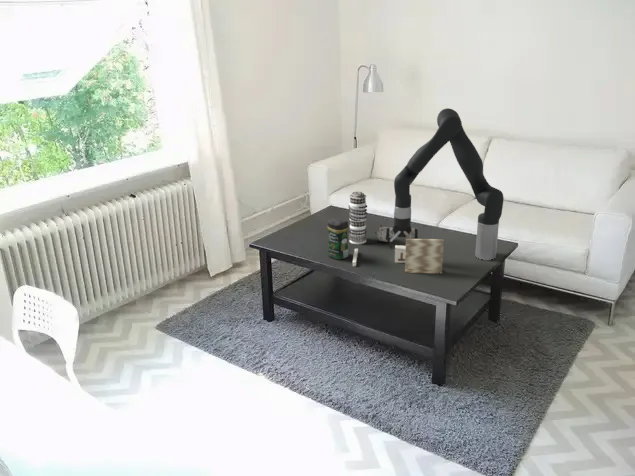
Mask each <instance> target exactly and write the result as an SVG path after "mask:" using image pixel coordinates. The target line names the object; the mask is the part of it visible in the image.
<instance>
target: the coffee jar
mask: <svg viewBox="0 0 635 476" xmlns="http://www.w3.org/2000/svg"><path fill="white" fill-rule="evenodd" d="M327 232H328V242H327V243H328V244H327V245H328V246H327V256H328V257H330V258H332V259H336V260H345V259H347V258H348V257H349V253H350V252H349V241H348V239H349V238H348V232H349V222H348V221H347V220H344V219H342V218H338V217H335V216H334V217H332V218H329V219H328V220H327Z"/></svg>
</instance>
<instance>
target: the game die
mask: <svg viewBox="0 0 635 476" xmlns="http://www.w3.org/2000/svg"><path fill="white" fill-rule="evenodd" d="M387 227H388V226H387ZM387 227H386V226H382V225H381V224H380V227H379V229H377V231H376V232H374V233H375V234H376V236H377V238H378V241H377V242H385V243H387V244H389V241H388V240H386V231H387ZM392 235H393V233H392V231H391V232H389V237H390V238H391V236H392Z"/></svg>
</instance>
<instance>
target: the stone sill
mask: <svg viewBox="0 0 635 476" xmlns="http://www.w3.org/2000/svg"><path fill="white" fill-rule="evenodd" d="M353 251H354V252H353V256H352V267H356V266H357V261H358V260H357V259H358V255H359V248H354V250H353Z"/></svg>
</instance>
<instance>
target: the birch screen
mask: <svg viewBox="0 0 635 476" xmlns="http://www.w3.org/2000/svg"><path fill="white" fill-rule="evenodd" d="M444 241H445V240H444V239H443V238H442V239H440V238H436V239H435V238H418V239H408V238H405V246H406V254H405V263H404V273H407V274H411V273H412V274H439V273H440V275H442V274H443V262H444V261H443V258H444Z"/></svg>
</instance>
